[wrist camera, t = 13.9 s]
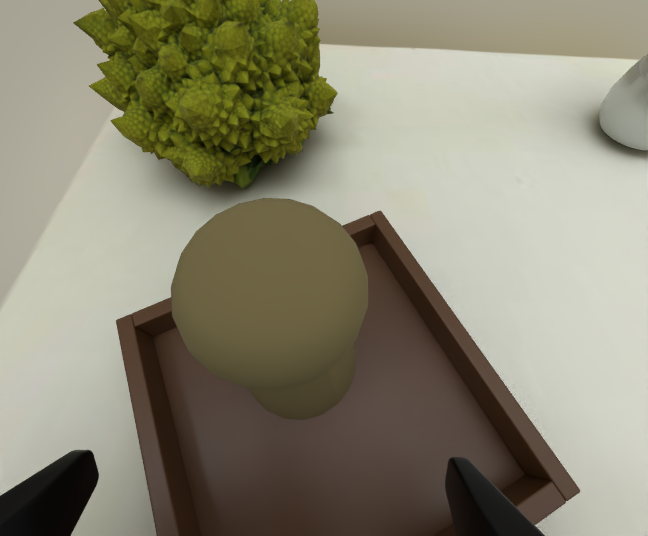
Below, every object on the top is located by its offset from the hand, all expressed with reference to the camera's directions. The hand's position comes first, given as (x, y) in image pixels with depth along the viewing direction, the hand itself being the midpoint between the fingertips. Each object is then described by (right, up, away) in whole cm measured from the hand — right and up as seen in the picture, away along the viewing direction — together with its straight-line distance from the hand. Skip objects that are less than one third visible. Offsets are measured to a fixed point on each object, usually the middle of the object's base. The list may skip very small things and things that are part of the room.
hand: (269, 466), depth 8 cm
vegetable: (-6, +15, +17) cm, 23 cm away
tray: (+1, -2, +9) cm, 9 cm away
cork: (0, 0, +9) cm, 9 cm away
